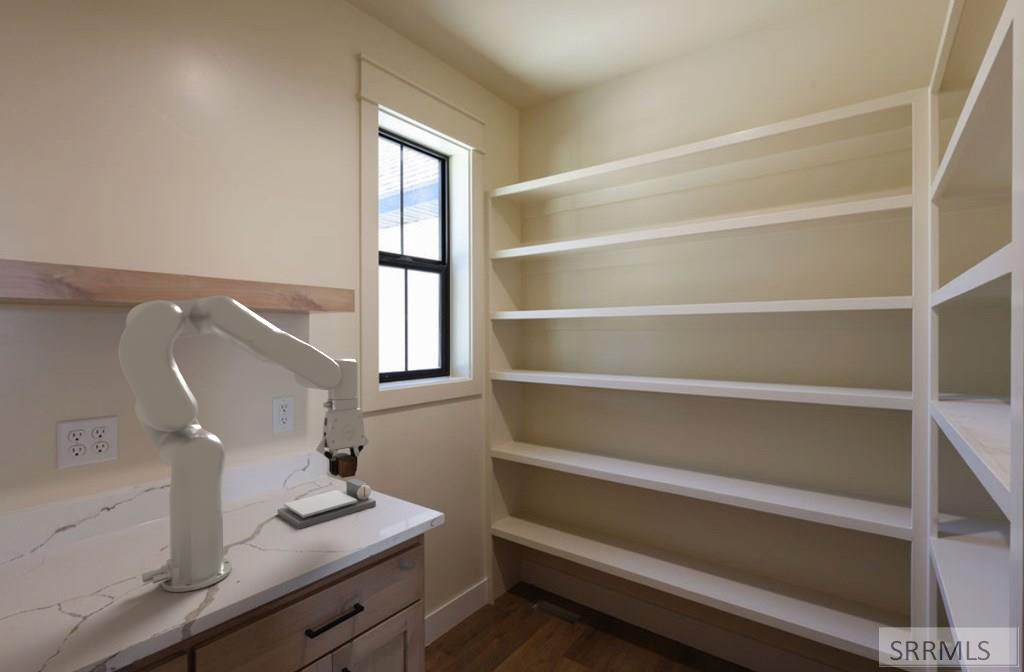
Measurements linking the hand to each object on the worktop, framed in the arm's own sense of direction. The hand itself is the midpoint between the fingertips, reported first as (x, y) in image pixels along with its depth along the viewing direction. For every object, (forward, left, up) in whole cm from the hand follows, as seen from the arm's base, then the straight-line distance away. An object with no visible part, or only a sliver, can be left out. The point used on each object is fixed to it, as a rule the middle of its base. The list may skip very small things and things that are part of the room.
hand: (343, 471), depth 127 cm
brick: (0, 0, 0) cm, 0 cm away
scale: (+3, +16, -15) cm, 22 cm away
